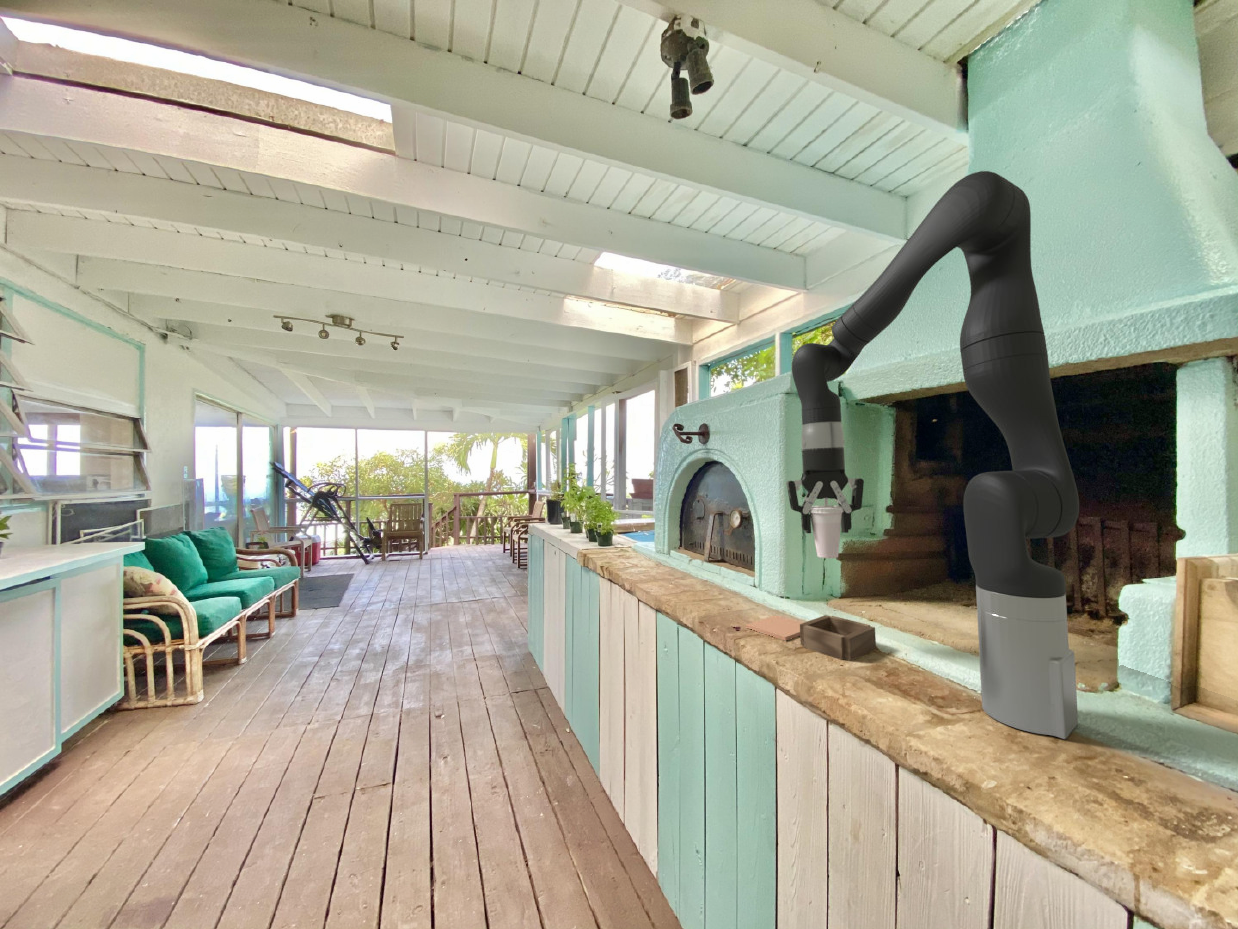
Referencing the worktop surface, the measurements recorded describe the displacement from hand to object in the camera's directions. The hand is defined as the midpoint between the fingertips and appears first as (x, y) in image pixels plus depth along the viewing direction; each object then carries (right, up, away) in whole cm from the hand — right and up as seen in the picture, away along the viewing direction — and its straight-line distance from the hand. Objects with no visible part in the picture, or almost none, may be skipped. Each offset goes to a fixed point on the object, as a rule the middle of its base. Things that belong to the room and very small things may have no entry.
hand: (826, 532), depth 90 cm
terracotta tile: (-6, -22, +9) cm, 25 cm away
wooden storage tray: (+2, -22, -1) cm, 22 cm away
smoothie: (0, -5, 0) cm, 5 cm away
